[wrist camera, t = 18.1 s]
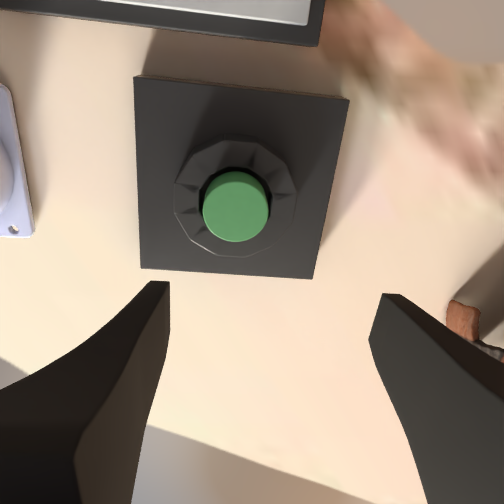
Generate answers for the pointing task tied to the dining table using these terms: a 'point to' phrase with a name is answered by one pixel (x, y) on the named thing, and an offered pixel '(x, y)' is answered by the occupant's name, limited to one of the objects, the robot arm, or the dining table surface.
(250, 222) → the button
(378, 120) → the dining table surface
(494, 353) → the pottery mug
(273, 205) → the block
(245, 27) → the scale
